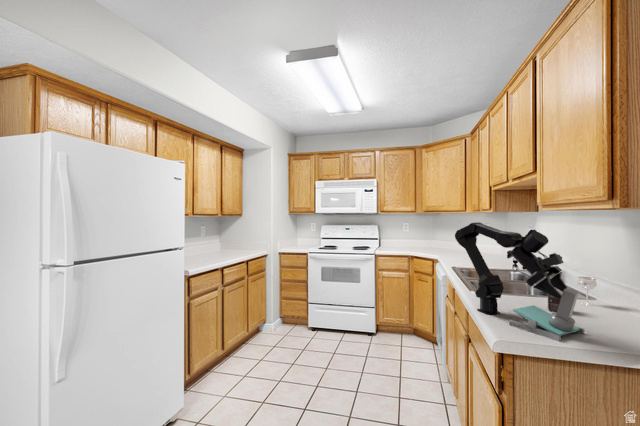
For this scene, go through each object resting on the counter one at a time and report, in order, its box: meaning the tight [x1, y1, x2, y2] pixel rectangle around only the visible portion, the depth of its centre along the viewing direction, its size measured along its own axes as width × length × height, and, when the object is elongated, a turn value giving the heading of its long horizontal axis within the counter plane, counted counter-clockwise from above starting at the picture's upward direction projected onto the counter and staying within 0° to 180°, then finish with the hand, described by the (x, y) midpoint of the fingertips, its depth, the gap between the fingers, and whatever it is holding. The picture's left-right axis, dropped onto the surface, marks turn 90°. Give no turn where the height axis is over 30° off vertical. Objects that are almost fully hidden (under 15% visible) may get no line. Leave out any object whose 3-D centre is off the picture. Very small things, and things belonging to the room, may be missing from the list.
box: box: [547, 292, 563, 312], centre depth 135 cm, size 6×6×7 cm
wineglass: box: [577, 276, 598, 307], centre depth 144 cm, size 7×7×12 cm
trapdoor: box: [512, 304, 581, 337], centre depth 113 cm, size 16×12×2 cm
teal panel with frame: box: [508, 319, 585, 342], centre depth 113 cm, size 17×15×4 cm
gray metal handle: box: [549, 287, 580, 333], centre depth 107 cm, size 7×7×14 cm
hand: (564, 295), depth 108 cm, fingers open, 9 cm apart
